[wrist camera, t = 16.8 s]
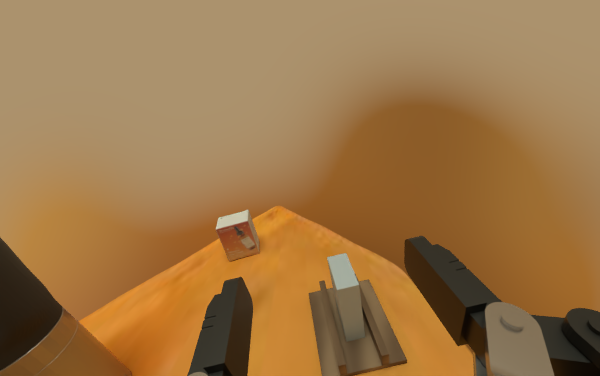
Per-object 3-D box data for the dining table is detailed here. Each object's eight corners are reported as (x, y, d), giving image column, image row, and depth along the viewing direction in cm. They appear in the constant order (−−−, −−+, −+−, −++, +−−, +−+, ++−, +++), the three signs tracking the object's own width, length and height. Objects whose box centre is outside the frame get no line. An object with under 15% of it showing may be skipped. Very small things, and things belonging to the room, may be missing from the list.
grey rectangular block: (346, 341, 35) (337, 289, 29) (336, 306, 40) (327, 257, 35) (365, 337, 35) (359, 284, 29) (352, 302, 40) (345, 253, 35)
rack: (323, 382, 32) (320, 370, 30) (309, 296, 44) (306, 284, 43) (406, 362, 32) (407, 349, 30) (368, 282, 44) (367, 270, 43)
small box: (229, 262, 57) (214, 229, 53) (231, 247, 62) (217, 217, 58) (260, 253, 58) (247, 220, 53) (259, 240, 63) (248, 208, 58)
